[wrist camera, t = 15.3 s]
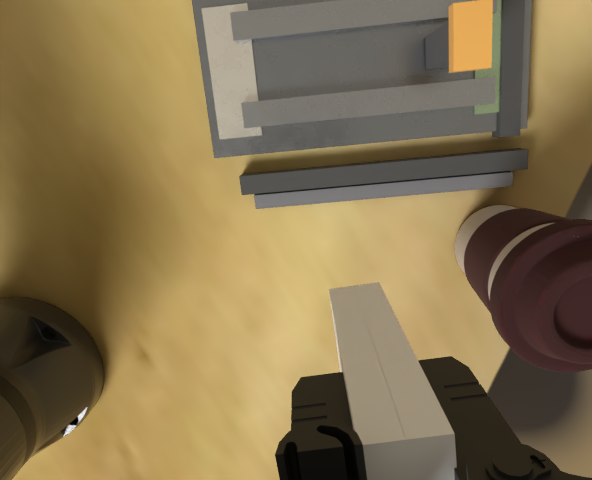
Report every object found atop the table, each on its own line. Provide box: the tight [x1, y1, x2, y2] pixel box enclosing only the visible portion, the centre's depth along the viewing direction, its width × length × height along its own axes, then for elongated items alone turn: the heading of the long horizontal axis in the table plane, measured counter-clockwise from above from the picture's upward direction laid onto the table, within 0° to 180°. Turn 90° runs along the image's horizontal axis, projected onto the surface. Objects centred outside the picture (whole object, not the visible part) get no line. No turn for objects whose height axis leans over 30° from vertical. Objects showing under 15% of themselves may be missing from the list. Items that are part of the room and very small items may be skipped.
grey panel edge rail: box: [492, 0, 525, 137], centre depth 35 cm, size 2×14×2 cm, turn 6°
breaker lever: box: [425, 0, 493, 73], centre depth 31 cm, size 2×4×7 cm, turn 5°
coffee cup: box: [455, 205, 592, 372], centre depth 33 cm, size 10×10×15 cm
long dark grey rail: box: [239, 148, 528, 209], centre depth 38 cm, size 24×3×2 cm, turn 96°
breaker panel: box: [192, 0, 532, 158], centre depth 35 cm, size 26×13×2 cm, turn 96°
